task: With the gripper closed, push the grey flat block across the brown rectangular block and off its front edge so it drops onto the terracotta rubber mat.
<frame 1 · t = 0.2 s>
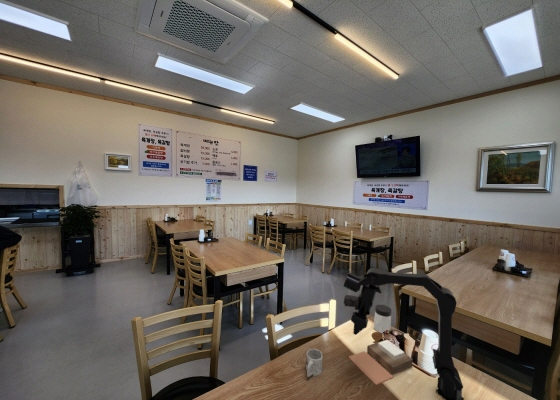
hand: (356, 328, 100), 15 cm above the table, tool pointing down, fingers open, 9 cm apart
grey flat block: (390, 351, 103), point 3 cm above the table, touching brown rectangular block
jar: (382, 329, 126), on the table
brown rectangular block: (388, 359, 103), on the table
mug: (312, 372, 95), on the table
mat: (369, 366, 98), on the table
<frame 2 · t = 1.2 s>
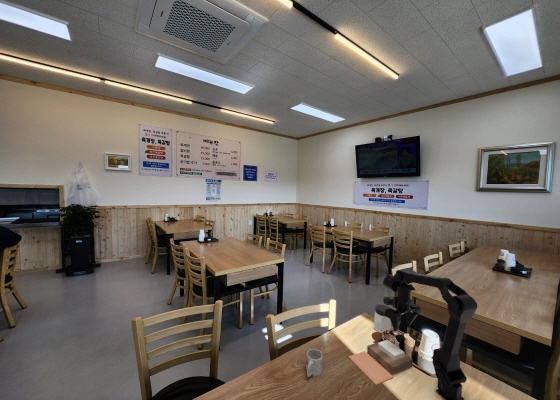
hand: (401, 328, 107), 12 cm above the table, tool pointing down, fingers open, 9 cm apart
nothing on the table moved.
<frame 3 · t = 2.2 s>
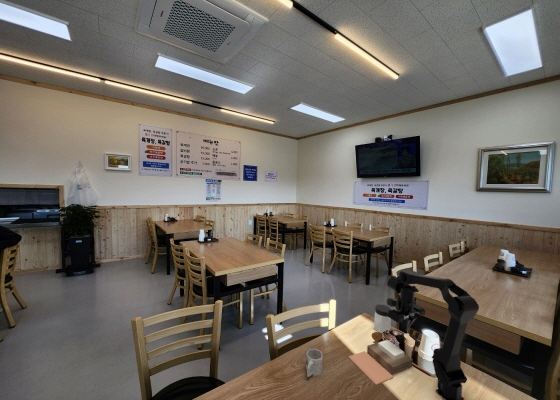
hand: (405, 330, 106), 11 cm above the table, tool pointing down, fingers closed
nothing on the table moved.
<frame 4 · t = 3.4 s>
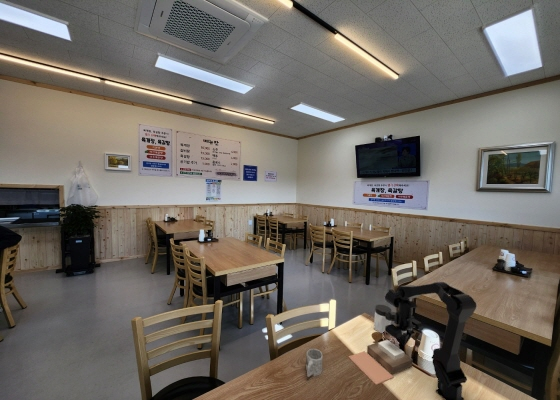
hand: (403, 345, 106), 4 cm above the table, tool pointing down, fingers closed
nothing on the table moved.
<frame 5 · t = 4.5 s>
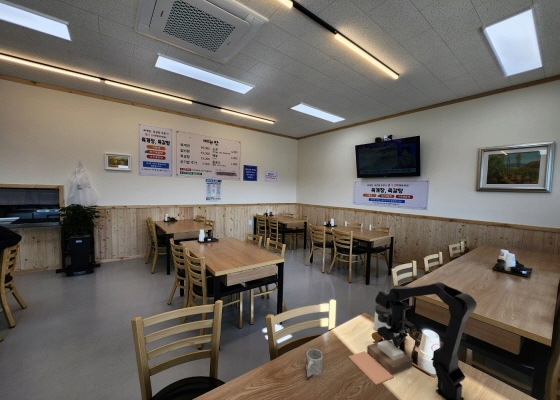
hand: (396, 347, 105), 5 cm above the table, tool pointing down, fingers closed
grey flat block: (390, 351, 103), point 3 cm above the table, touching gripper, brown rectangular block
everything else where it was.
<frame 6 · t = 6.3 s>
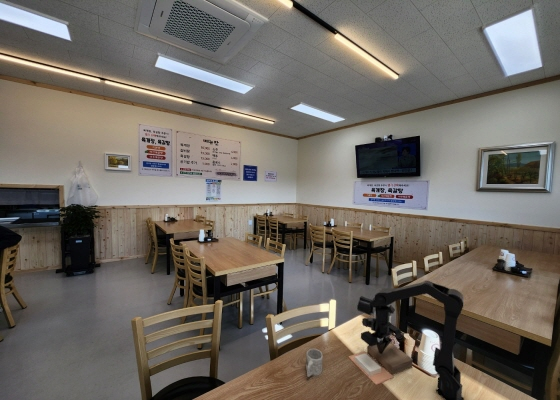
hand: (380, 353, 101), 5 cm above the table, tool pointing down, fingers closed
grey flat block: (367, 361, 98), point 2 cm above the table, tilted 180°, touching mat
everything else where it was.
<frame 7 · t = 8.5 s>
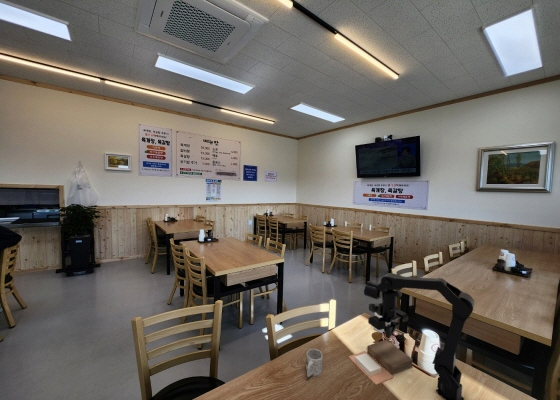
hand: (387, 337, 100), 12 cm above the table, tool pointing down, fingers closed
nothing on the table moved.
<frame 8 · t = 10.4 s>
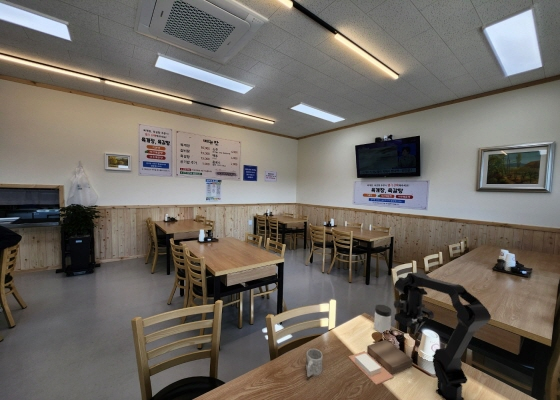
hand: (413, 334, 103), 12 cm above the table, tool pointing down, fingers closed
nothing on the table moved.
at the end: grey flat block inside the target area (0.8 cm from its centre), point 2.4 cm above the table; grey flat block touching mat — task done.
